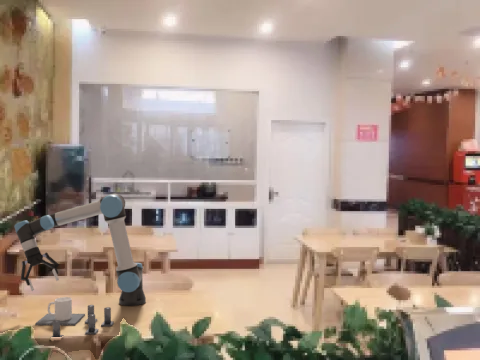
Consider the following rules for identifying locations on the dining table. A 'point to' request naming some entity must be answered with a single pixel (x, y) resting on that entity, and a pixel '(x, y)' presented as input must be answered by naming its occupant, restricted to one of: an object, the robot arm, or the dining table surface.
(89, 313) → the posts
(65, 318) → the cup
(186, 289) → the dining table surface
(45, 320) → the mat
